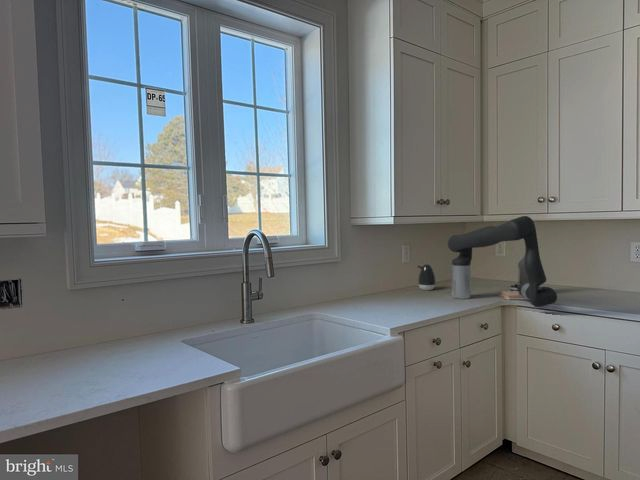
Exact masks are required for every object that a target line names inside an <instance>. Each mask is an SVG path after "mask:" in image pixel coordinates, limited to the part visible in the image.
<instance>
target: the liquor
mask: <svg viewBox="0 0 640 480" xmlns="http://www.w3.org/2000/svg"><path fill="white" fill-rule="evenodd" d="M525 253H526V246H525V245H524V254H525ZM524 261H525V255H524V256H523V257H522V258H521V259H519V262H518V263H517V284H522V283H524V282H529V281H528V278H527V275H526V271H525V267H524Z"/></svg>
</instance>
